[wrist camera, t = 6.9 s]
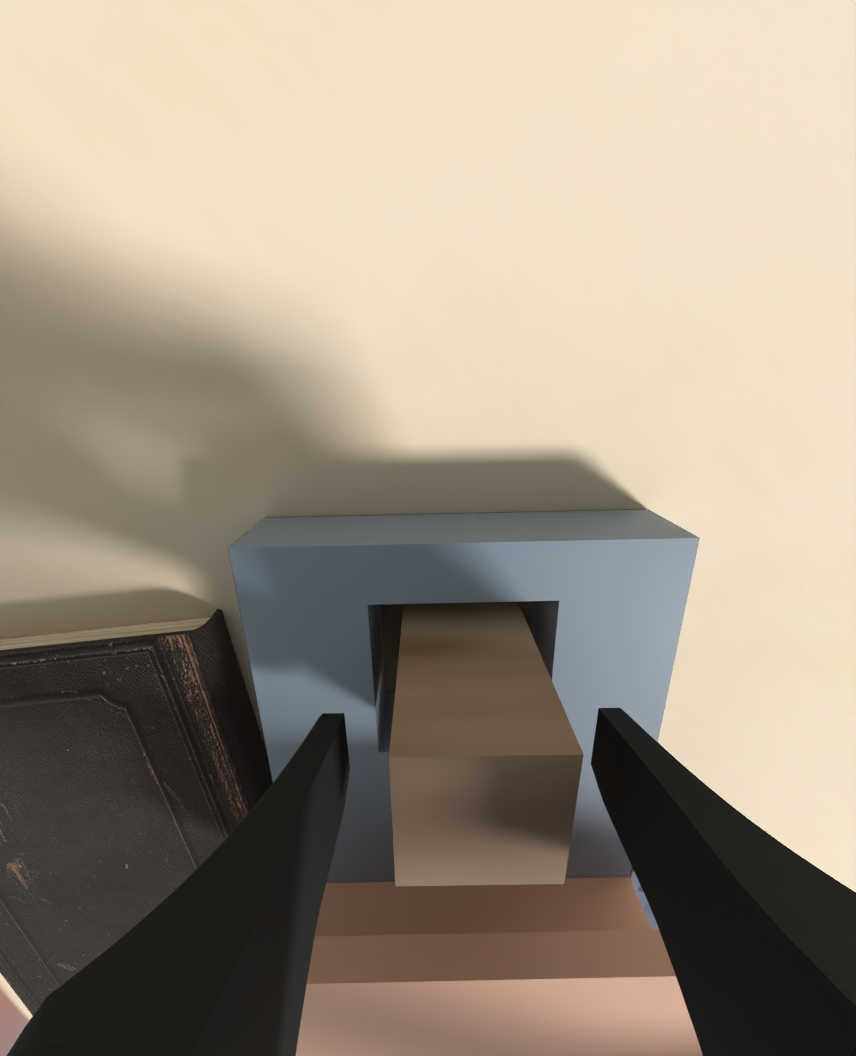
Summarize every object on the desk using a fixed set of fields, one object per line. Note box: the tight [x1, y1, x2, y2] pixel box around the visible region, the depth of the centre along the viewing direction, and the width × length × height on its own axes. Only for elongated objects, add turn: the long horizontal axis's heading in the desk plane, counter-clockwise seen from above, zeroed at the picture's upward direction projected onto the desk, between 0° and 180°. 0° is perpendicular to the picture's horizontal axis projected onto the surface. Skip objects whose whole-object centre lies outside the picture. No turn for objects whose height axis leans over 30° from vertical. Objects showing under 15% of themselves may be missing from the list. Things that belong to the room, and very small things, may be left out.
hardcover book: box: [0, 609, 273, 1015], centre depth 20 cm, size 16×23×2 cm
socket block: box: [228, 509, 699, 883], centre depth 16 cm, size 16×14×3 cm
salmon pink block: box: [296, 877, 703, 1056], centre depth 14 cm, size 6×14×5 cm, turn 91°
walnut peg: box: [389, 602, 584, 886], centre depth 13 cm, size 4×4×8 cm
